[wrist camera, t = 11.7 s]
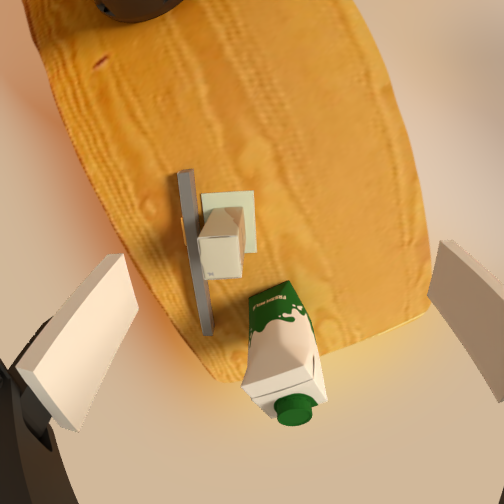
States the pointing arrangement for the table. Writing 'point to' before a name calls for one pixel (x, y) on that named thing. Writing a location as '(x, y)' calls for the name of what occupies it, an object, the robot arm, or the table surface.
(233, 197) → the pad
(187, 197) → the rail
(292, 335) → the fresh milk carton
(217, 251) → the box
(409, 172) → the table surface
